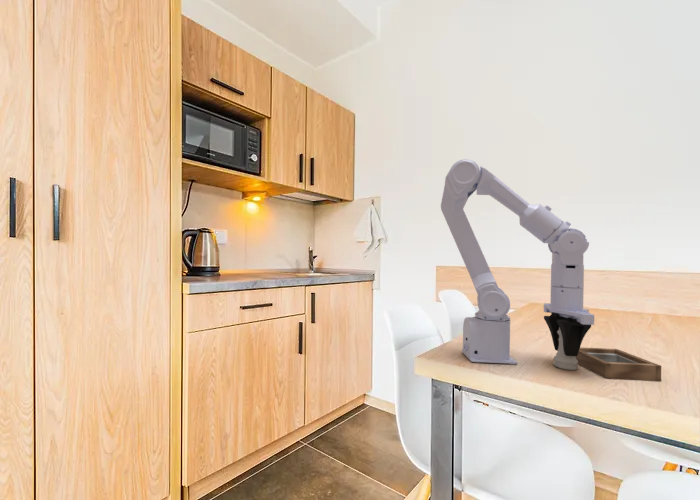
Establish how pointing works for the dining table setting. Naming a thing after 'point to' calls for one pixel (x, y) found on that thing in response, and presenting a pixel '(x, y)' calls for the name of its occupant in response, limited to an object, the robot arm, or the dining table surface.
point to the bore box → (617, 364)
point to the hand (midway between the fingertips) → (565, 353)
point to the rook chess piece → (564, 357)
